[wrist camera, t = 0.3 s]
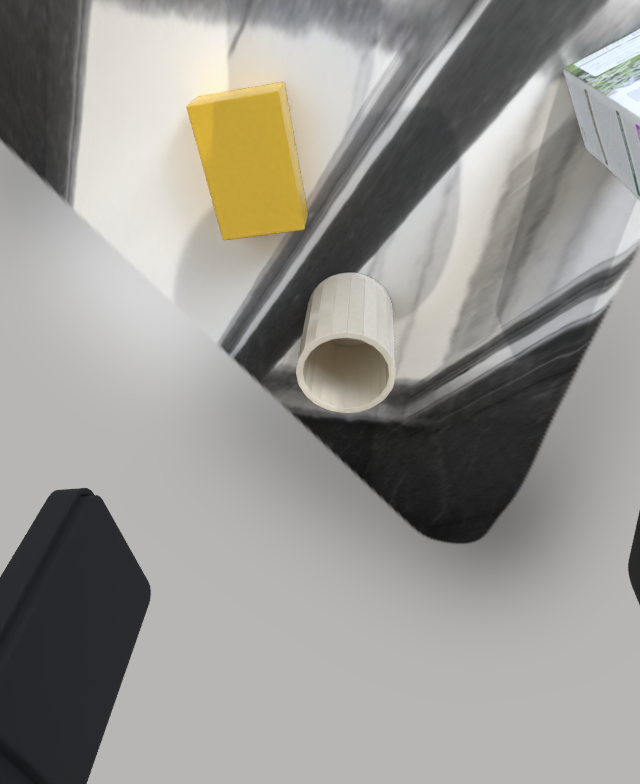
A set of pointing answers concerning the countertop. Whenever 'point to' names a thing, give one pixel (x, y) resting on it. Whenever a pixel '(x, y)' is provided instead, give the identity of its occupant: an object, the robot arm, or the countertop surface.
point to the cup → (347, 344)
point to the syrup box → (610, 106)
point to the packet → (250, 160)
